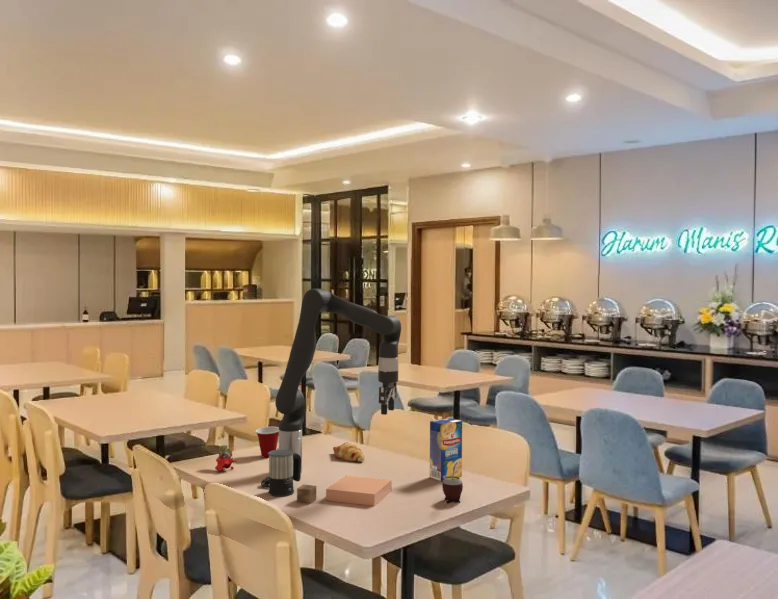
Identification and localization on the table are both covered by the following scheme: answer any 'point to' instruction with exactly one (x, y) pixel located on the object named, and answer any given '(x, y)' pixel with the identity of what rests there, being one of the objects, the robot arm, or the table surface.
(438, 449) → the beverage box
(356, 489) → the terracotta base
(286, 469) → the milk frother
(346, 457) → the croissant
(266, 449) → the plastic cup
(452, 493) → the mate gourd
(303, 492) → the walnut cube
